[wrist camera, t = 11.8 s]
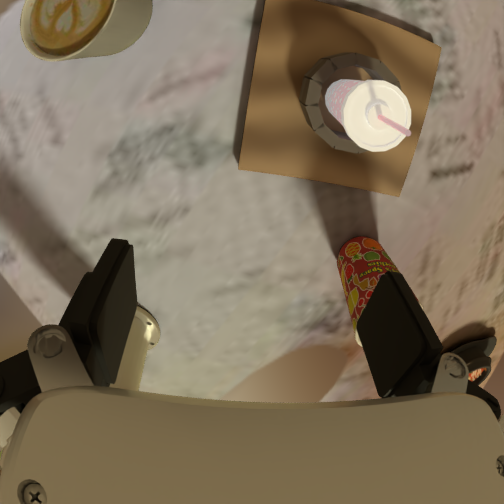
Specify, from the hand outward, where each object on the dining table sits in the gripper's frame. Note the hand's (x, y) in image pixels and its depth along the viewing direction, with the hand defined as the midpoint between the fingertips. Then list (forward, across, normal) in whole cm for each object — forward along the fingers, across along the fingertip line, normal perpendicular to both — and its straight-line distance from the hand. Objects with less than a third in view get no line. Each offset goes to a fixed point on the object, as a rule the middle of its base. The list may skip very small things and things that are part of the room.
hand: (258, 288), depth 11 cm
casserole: (+26, -60, +41) cm, 77 cm away
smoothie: (+26, -18, +14) cm, 34 cm away
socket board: (+25, -10, -6) cm, 28 cm away
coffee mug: (+26, +16, -14) cm, 33 cm away
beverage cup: (+24, -10, -6) cm, 26 cm away
